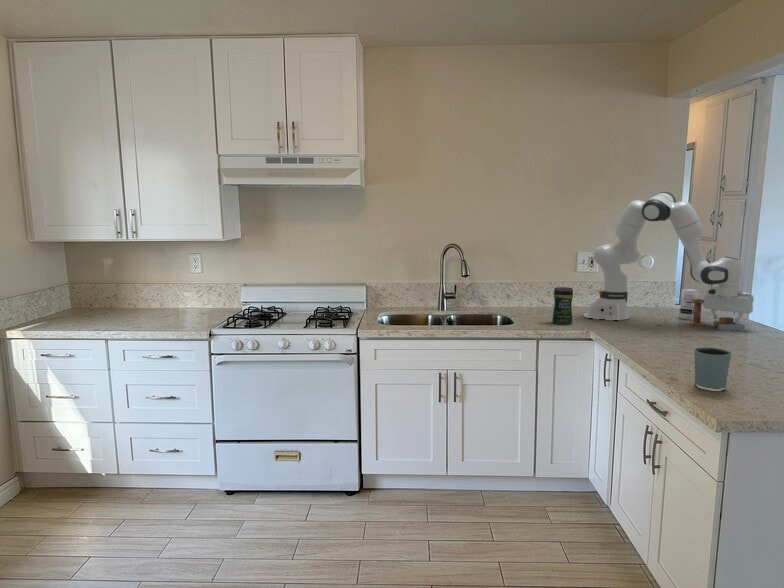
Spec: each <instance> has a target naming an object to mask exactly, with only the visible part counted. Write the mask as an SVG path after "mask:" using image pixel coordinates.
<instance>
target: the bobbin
mask: <svg viewBox="0 0 784 588" xmlns="http://www.w3.org/2000/svg"><path fill="white" fill-rule="evenodd" d="M691 302H693V303H695V304H694V319H693V320H688V324H689V325H692V326H700V327H701V326H705V325H706V322H705V321H701V320H702V319H701V318H702V306H703V302H704V299H701V298H699V299H691Z"/></svg>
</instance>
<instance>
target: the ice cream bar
mask: <svg viewBox="0 0 784 588" xmlns="http://www.w3.org/2000/svg"><path fill="white" fill-rule="evenodd" d="M718 320H719V322H714V321H713V322H712V324H713V325H714V324H733V321H735V319H734V318H733V317H731V316H728V317H726V316H718Z"/></svg>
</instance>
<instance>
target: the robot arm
mask: <svg viewBox="0 0 784 588" xmlns="http://www.w3.org/2000/svg"><path fill="white" fill-rule="evenodd" d="M667 220H669V221H670V222H671V224H672V226H673V228H674V231H675V233H676V234H677V236H678V238H679V240H680V242H681V244H682V245H683V249H684V251H685V253H686V256H687V258H688V262H689V263H690V269H689V270H690V272H689V273H690V277H691V278H692V280H693V281H695V282H697V283H700V284H701V283H702V284H705V285H710V286H711V285H717V287H712V288H708V289H706V294H705V296H704V298H703V300H704V302H703V303H702V306H703V308H704V309H706V310H710V312H711V314H712V318H713V319H714V320H719V315H718V314H717V312H716V311H722V312H723V311H725V312H732V313H737V314H738V317H735V319H734V321H735V322H740V323H741V318H742V317H743V316H744V314H751V313H752V312H753V311H754V310H753V309H754V306H753V305H754V304H753V303H754V296H753V294H751V293H748V292H741V283H740V280H741V278H742V262H741V260H740V259H738V258H735V257H730V256H722V257H721V258H719V259H718V260H716V261H714V262H710V263H709V262H707V260H706V258H705V257H704V254H703V252H702V249H701V245H700V240H701V238H702V237H703V235H704V228H703V224H702V222H701V219H700V217H699V215H698V213H697V211H696V210H695V209H694V207H693V205H692V204H691V203H690V202H688V201H686V200H682V201H678V202H677V200H676V197H675V196H674V194H672V193H671V192H669V191H662V192H658V193H656V194H655V195H653V196H652V197H650V198H649V199H648V200H646V201H643V200H639V199H638V200H637V199H636V200H632V201H631V202H629V204H628V205H627V206H626V208H625V209H624V211H623V213H622V216H621V218H620V220H619V222H618V224H617V226H616V228H615V234H616V237H617V238H618V241H617V243H606V244H603V245H602V244H601V245H599V246H597V247H596V248H595V249H594V251H593V259H594V261H595V263H596V264H598V266H600V268H601V270H602V273H603V277H604V278H603V282H604V283H603V284H604V285H603V287H604V288H603V289H604V290H601V289H600V290H599V291H598V294H599V297H598V298H597V299H596V300H594V301H593V302H591V303H590V304H589V305H588V309H587V311H586V312H584V313H583V315H584V316H583V318H585V317H586V318H585V319H587V318H593V319H592V320H599V319H605V320H604V321H613V320H618V321H622V320H627V319H630V316H629V311H628V299H629V297H628V296H629V293H628V276H627V274H626V273H624V272H623V271H622V270H621V265H630V264H632V263H636V262H638V261H639V259H640V257H641V249H640V247H639V246H638V238H639V236H640V234H641V231H642V229H643V227H644V225H645V223H646V221H648V222H662V221H665V222H666V221H667ZM713 319H712V320H713Z"/></svg>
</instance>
